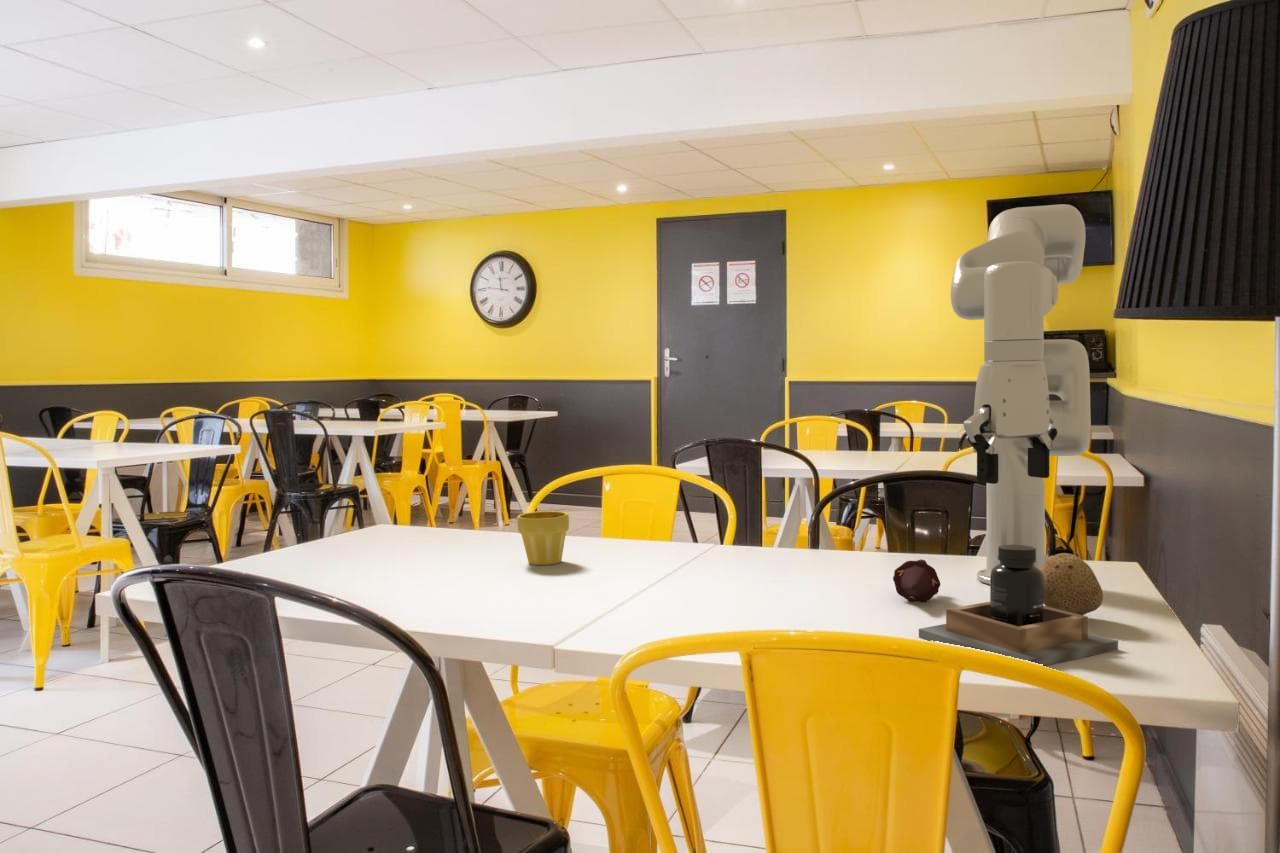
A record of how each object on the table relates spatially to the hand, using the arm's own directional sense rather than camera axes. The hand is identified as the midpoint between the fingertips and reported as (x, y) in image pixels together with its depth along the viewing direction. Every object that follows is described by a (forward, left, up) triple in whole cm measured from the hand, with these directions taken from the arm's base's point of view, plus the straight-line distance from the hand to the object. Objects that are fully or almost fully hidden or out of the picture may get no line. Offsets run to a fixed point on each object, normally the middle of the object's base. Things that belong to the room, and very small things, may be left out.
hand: (1013, 479), depth 133 cm
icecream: (-5, -24, -23) cm, 34 cm away
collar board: (+1, +1, -22) cm, 22 cm away
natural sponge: (-15, -4, -23) cm, 28 cm away
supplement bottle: (0, +1, -21) cm, 21 cm away
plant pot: (+35, -88, -23) cm, 97 cm away
